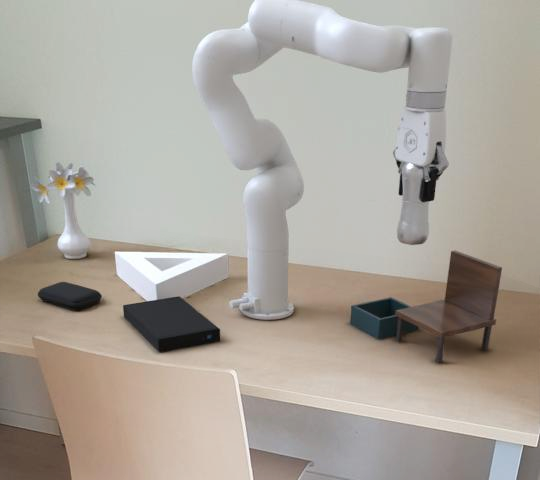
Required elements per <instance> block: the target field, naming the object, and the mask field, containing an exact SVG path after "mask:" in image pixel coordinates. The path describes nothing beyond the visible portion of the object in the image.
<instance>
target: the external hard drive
mask: <svg viewBox="0 0 540 480" xmlns="http://www.w3.org/2000/svg"><path fill="white" fill-rule="evenodd" d="M122 311H123V317H124V319H125V320H126V321H127V322H129V324H131V326H133V328H134V329H136V331H137V332H139V333H140V334H141V336H143V338H144V339H146V340H147V341H148V342H149V343H150V344H151V345H152V346H153V348H154V349H156V350H157V351H158V352H159V353H165V352H166V353H167V352H170V351H177V350H180V349H181V350H182V349H187V348H191V347H198V346H202V345H208V344H213V343H220V342H221V328H219V327H218V326H217V325H216V324H214V323H213V322H212V321H211V320H209V319H208V318H207V317H206V316H205V315H204V314H203V313H201V312H200V311H198V310H197V309H196V308H195V307H193V306H192V305H191V304H190V303H189V302H187V301H186V300H184V298H183V299H182V298H181V297H180V296H178V297H172V298H165V299H159V300H153V301H146V300H145V301H141V302H134V303H128V304H123V305H122Z"/></svg>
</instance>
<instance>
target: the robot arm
mask: <svg viewBox="0 0 540 480" xmlns="http://www.w3.org/2000/svg"><path fill="white" fill-rule="evenodd" d="M452 45H453V33H452V31H451V30H450V29H449V28H447V27H437V26H436V27H435V26H432V27H431V26H430V27H429V26H428V27H411V26H406V25H401V24H392V25H391V24H390V25H382V26H381V25H375V24H372V23H367V22H363V21H358V20H354V19H351V18H347V17H344V16H342V15H340V14H338V13H337V12H336V11H335V9H334V8H332V7H330V6H327V5H323V4H319V3H318V4H317V3H312V2H308V1H304V0H254V1H253V2H252V3H251V5H250V7H249V10H248V14H247V22H246V23H244V24H243V25H242V26H240V27H239V28H224V29H218V30H215V31H212V32H210V33H208V34H207V35H205V36H204V37H203V38H202V39H201V40H200V41H199V43H198V45H197V47H196V49H195V51H194V54H193V58H192V64H191V73H192V80H193V84H194V87H195V89H196V92H197V94H198V97H199V98H200V100H201V102H202V103H203V106H204V107H205V108H204V109H206V112H207V113H208V115H209V117H210V120H211V122H212V124H213V128H214V129H215V131H216V133H217V135H218V137H219V140H220V142H221V144H222V146H223V148H224V150H225V152H226V154H227V156H228V158H229V161H230V162H231V164H232V165H233V166H234V167H235V168H236V169H238V170H240V171H251V170H255V169H256V172H257V174H256V175H254V176H253V177H251V179H249V181H248V182H247V184H246V186H245V187H244V191H243V195H242V196H243V198H242V199H243V200H242V202H243V209H244V215H245V222H246V223H245V225H246V248H247V252H246V253H247V255H246V256H247V257H246V258H247V260H246V261H247V263H246V264H247V266H246V267H247V270H246V271H247V291H246V292H243V296H241V297H240V298H238V299H231V300H229V302H228V306H229V308H230V309H237V308H239V310H240V311H241V313H242V314H243V315H244V316H246V317H248V318H250V319H254V320H255V319H256V320H263V321H273V320H275V321H276V320H281V319H285V318H287V317H290V316H292V315H293V314H294V312H295V306H294V304H293V303H291V302H290V301H288V298H289V297H288V294H289V293H288V290H289V249H290V248H289V247H290V246H289V245H290V241H289V240H290V234H289V225H288V220H287V211H288V210H289V209H291V208H293V207H295V206H296V205H298V203H300V201H301V199H302V197H303V195H304V191H305V184H304V183H305V182H304V179H303V178H304V177H303V176H302V172H301V171H300V168H299V166H298V164H297V162H296V159H295V157H294V155H293V153H292V151H291V148H290V146H289V144H288V142H287V140H286V137H285V135H284V133H283V132H282V130H281V129H280V127H279V126H277V124H275V122H273V121H271V120H270V119H267V118H255V116H254V114H253V112H252V110H251V108H250V105H249V103H248V101H247V98H246V96H245V94H243V92H242V91H241V89H240V88H239V87H238V85H237V84H236V82H235V81H234V78H233V77H234V76H235V75H241V74H246V73H250V72H252V71H254V70H256V69H258V68H259V67H260V66H262V65H263V64H264V63H266V62H267V61H268V60H270V59H271V58H272V57H274V56H275V55H277V54H278V53H279V52H280V51H282V50H283V49H285V48H286V49H290V50H293V51H294V50H295V51H297V52H302V53H305V54H308V55H312V56H317V57H320V58H322V59H325V60H329V61H331V62H334V63H337V64H340V65H344V66H348V67H350V68H355V69H359V70H363V71H367V72H372V73H380V74H381V73H387V72H391V71H395V70H396V71H397V70H399V69H400V70H401V69H406V68H407V69H408V73H407V85H406V94H405V106H404V107H403V108H402V111H401V114H400V118H399V122H398V128H397V134H396V141H395V149H394V150H393V151H392V155H393V157H394V160H395V161H396V162H395V164H396V166H397V168H398V169H397V170H398V171H397V174H398V175H399V183H398V196H402V197H403V183H402V169H403V166H404V164H405V163H410V164H413V165H416V166H421V167H423V170H424V177H425V181H423V182H422V189H421V199H420V200H421V202H428V201H429V202H434V200H435V195H436V187H437V181H439V180H440V177H441V176H442V175H443V173H444V172H445V170H447V168H448V167H449V165H450V163H449V161H448V158H447V156H446V153H445V150H446V139H447V114H446V112H447V111H446V110H445V109H446V108H445V107H446V100H447V91H448V81H449V73H450V63H451V56H452V55H451V54H452ZM431 162H432V164H431ZM429 168H432V172H431V173H430V169H429Z"/></svg>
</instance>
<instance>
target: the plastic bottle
mask: <svg viewBox="0 0 540 480" xmlns="http://www.w3.org/2000/svg"><path fill="white" fill-rule="evenodd" d="M431 164H432V162H431ZM429 169H430V173H431V172H432V168H429ZM423 181H425V177H424V170H423V167H421V166H416V165H413V164H410V163H405V164H404V166H403V169H402V183H403V195H402V200H401V201H402V202H401V209H400V214H399V215H400V216H399V221H398V224H397V228H396V238H397V240H398V242H399V243H401V244H404V245H409V246H417V245H423V244H425V243H426V242H427V241H428V238H429V235H430V224H429V204H430V201H428V202H421V200H420V199H421V189H422V182H423Z"/></svg>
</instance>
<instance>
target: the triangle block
mask: <svg viewBox="0 0 540 480" xmlns="http://www.w3.org/2000/svg"><path fill="white" fill-rule="evenodd" d="M114 258H115V268H116V269H115V270H116V276H117V277H118V278H119V279H120V280H122V281H123V282H124V283H125V284H126V285H128V286H129V287H130V288H131V289H132V290H133V291H135V292H136V293H137V294H138V295H139V296H140V297H141V298H143V299H144V300H145V302H146V301H153V300H159V299H165V298H172V297H178V296H180V297H181V298H182V299H183V300H184V299H185V298H187V297H189V296H191V295H194V294H196V293H198V292H201V291H202V290H204V289H207V288H209V287H211V286H213V285H215V284H218V283H220V282H222V281H224V280H226V279H228V278H229V277H230V275H229V274H230V272H229V271H230V269H229V253H220V252H219V253H217V252H215V253H213V252H167V251H166V252H162V251H161V252H158V251H156V252H155V251H151V252H150V251H114Z"/></svg>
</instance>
